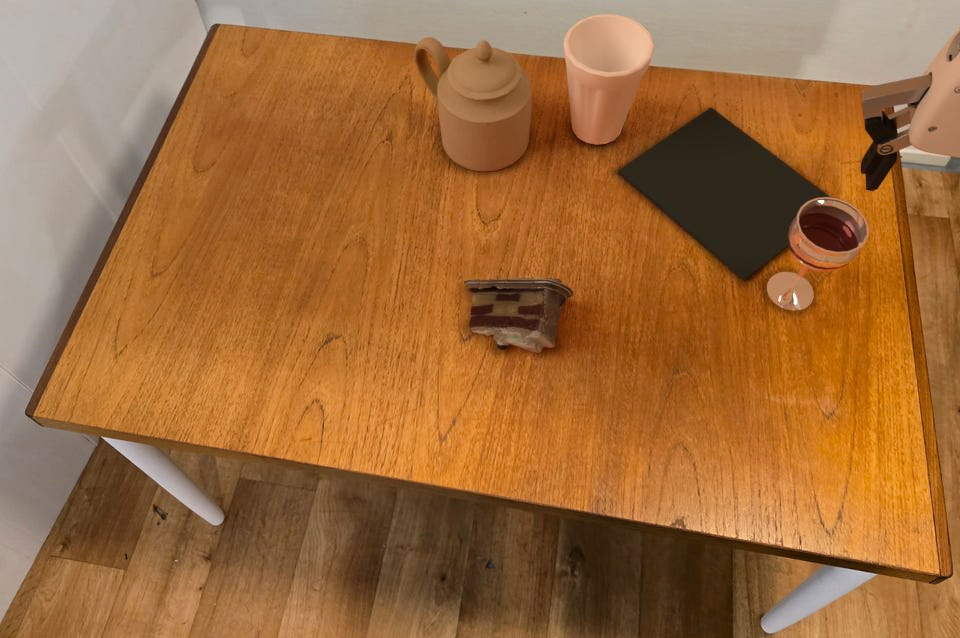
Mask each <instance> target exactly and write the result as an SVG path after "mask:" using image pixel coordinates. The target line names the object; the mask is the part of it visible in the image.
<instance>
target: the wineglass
mask: <svg viewBox="0 0 960 638" xmlns="http://www.w3.org/2000/svg"><path fill="white" fill-rule="evenodd" d="M830 197H831V196H829V197H822V198H815V199H813V200H810V201H808V202H806V203H805V204H804V205H803V206H801V208H800V210H799V212H798V214H797V216H796V217H795V218H794V219H793V221H792V223H791V225H790V227H789V229H788V238H787V241H788V248H789V252H790V253H791V254H792V256H793V258H794V259H795V260H796V261H797V262H799V263H800V264H801V265H802V266H801V268H800V269H799V271H798V273H797V272H792V271H780V272H778V273H775V274H773V275H772V276H771V277H769V279H768V280H767V281H768V282H767V284H766V291H767V294H768V295H767V296H768V297H769V299H770V300H771V301H772V302H773V303H774V304H775V305H776V306H778V307H780V308H782V309H784V310H787V311H792V312H795V311H802V310H805V309H806V308H808V307H809V306H810V305H811V304H812V303H813V301H814V298H815V297H814V296H815V291H814V289H813V286H812V284H811V283H810V281H808V279H806V277H804V276H805V274H806V273H807V271H808V270H809V269H811V270H813V271H818V272H819V271H820V272H833V271H836V270H838V269H841V268H844V267H845V266H847V265H849V264H850V263H851V262H852V261H853V260H855V258H857V256H858V255H859V253H860V250H861V248H862V247H863V246H864V245H865V244H866V243H867V241H868V238H869V235H870V226H869V223H868V221H867V218H866V217H865V215H863V213H862V212H861V211H860V209H858V208H857V207H856V206H854V205H852V203H850V202H848V201H845V200H843V199H840V198H835V197H831V198H830Z"/></svg>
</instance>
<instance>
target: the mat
mask: <svg viewBox="0 0 960 638" xmlns="http://www.w3.org/2000/svg"><path fill="white" fill-rule="evenodd" d="M617 174H619V176H621V178H623V180H625V181H626V182H628V184H630V185H631V186H632V187H633V188H635V189H636V190H637V191H638V192H639V193H640V194H641V195H642V196H644V198H646V199H647V200H648V201H650V202H651V203H652V204H653V205H654V206H656V207H657V208H658V209H659V210H660V211H662V213H664V214H665V215H666V216H667V217H668V218H669V219H671V220H672V221H673V222H674V223H676V224H677V226H679V227H680V228H681V229H682V230H684V232H686V233H687V234H688V235H689V236H690V237H692V239H694V240H695V241H696V242H697V243H699V244H700V245H701V246H702V247H703V248H705V249H706V250H707V251H708V252H709V253H710V254H711V255H713V256H714V257H715V258H716V259H718V261H720V263H722V264H723V265H724V266H726V267H727V268H728V269H729V270H730V271H731V272H733V273H734V274H735V275H736V276H737V277H738V278H739V279H741V280H742V281H743V282H745V281H746V280H748V279H749V278H751V277H752V276H753V275H755V273H757V272H758V271H759V270H761V269H763V267H764V266H766V265H767V264H768V263H769V262H771V261H772V260H773V259H775V258H776V257H778V255H780V254H781V253H783V252H784V251H785V250H786V249H787V248H789V246H788V241H787V238H788V229H789V227H790V225H791V223H792V221H793V219H794V218H795V217H796V216H797V214H798V212H799V210H800V208H801V206H803V205H804V204H805V203H806V202H808V201H810V200H813V199H815V198H822V197H830V198H832V197H831V196H830V195H828V194H827V193H826V192H824V191H823V190H822V189H820V188H819V187H817V185H815V184H814V183H813V182H811V181H809V179H807V178H805V177H804V175H802V174H800V173H799V172H798V171H796V170H795V169H794V168H793V167H791V166H790V165H788V164H787V163H785V161H783V160H782V159H780V158H779V157H778V156H776V154H774V153H772V152H771V151H770V150H768V149H767V148H766V147H765V146H763V145H762V144H761V143H759V142H758V141H757V140H755V139H754V138H752V137H751V136H750V135H748V133H746V132H744V131H743V130H742V129H741V128H740V127H738V126H736V125H735V124H734V123H732V122H731V121H730V120H728V119H727V118H726V117H725V116H724V115H722V114H720V113H719V112H718V111H717V110H715V109H714V108H713V107H709V108H708V109H706V110H705V111H703V112H702V113H700V114H699V115H697V116H695V118H693V119H691V120H690V121H688V122H687V123H686V124H683V126H680V128H677V130H675V131H674V132H672V133H671V134H670V135H668V136H666V137H665V138H663V139H662V140H660V141H659V142H657V143H656V144H655V145H653V146H651V147H650V148H648V150H646V151H644V152H643V153H642V154H640V155H639V156H637V157H635V158H634V159H633V160H631V161H630V162H628V163H627V164H625V165H623V166H622V167H620V168H619V169H618V170H617Z"/></svg>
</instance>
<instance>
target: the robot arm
mask: <svg viewBox="0 0 960 638" xmlns="http://www.w3.org/2000/svg"><path fill="white" fill-rule="evenodd" d="M860 96H861V97H860V99H861V100H860V101H861V110H862V116H863V123H864V130H865V132H866V133H867V135H868V136H869V137H870V139H871V140H872V142H871V143H870V145H869V146H868V148H867V150H866V152H865V153H864V155H863V156H862V158H861V162H860V174H861V175H865V190H866V191H870V192H874V191H876V190H878V189H879V187H880V186H881V185H882V183H883V182H884V180H885V179H886V177H887V176H888V174H889V173H890V171H891V170H892V169H893V167H894V166H895V164H896V162H897V161H898V152H899V151H901V150H904V149H906V148H908V147H910V146H912V147H913V148H915V149H917V150H919V151H921V152H924V153H928V154H933V155H934V154H935V155H940V156H946V157H952V158H953V157H954V158H959V159H960V27H959V28H958V29H957V30H956V31H955V32H954V34H953V35H952V36H951V37H950V38H949V39H948V41H946V43H945V44H944V46H943V47H942V48H941V49H940V51H939V52H938V53H937V54H936V56H935V57H934V59H933V60H932V61H931V63H930V64H929V65H928V67H927V68H926V69H925V71H924V73H923V74H922V75H919V76H916V77H915V76H914V77H909V78H905V79H900V80H895V81H891V82H886V83H880V84H875V85H870V86H866V87H864V88H863V89H862V90H861V92H860ZM901 105H906V107H904V108H901V109H900V110H897V111H895V112H893V113H891V114H888V115H887V114H886V112H885V111H884V110H885V109H888V108H892V107H896V106H897V107H898V106H901ZM908 125H909V127H908V128H906V129H904V130H901V131H900V132H898V130H899V129H901V128H904V127H905V126H908Z"/></svg>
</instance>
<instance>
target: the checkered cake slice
mask: <svg viewBox="0 0 960 638" xmlns="http://www.w3.org/2000/svg"><path fill="white" fill-rule="evenodd" d="M462 283H463V284H465V288H466V289H465V290H466V291H467V292H469V293H471V294H472V298H471V302H472V306H471V307H470V313H469V318H470V319H469V324H468V327H469V329H470V330H471V331H472V333H476V334H479V335H485V336H486V337H490V336H492V337H493V340H494V341H496V343H497V344H496V347H497V348H498V349H499V350H501V351H502V350H506V348H507V347H508V346H509V345H511V346H514V347H518V348H521V349H523V350H526V351H530V352H534V353H536V354H538V353H542V351H543V348H548V349H549V348H550V349H551V348H554V347H555V346H556V339H557V338H556V334H557V331H558V329H559V322H560V321H559V320H560V317H561V311H562V308H563V307H564V304H565V303H566V302H567V301H568V299H569V298H572V297H573V296H574V291H573V289H572V288H571V287H569V286H568V285H566V284H564V283H562V280H561V279H560V278H553V277H548V278H524V277H523V278H507V279H503V278H502V279H500V278H498V279H497V278H489V279H479V278H475V279H470V278H468V279H465V280H463V281H462Z"/></svg>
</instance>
